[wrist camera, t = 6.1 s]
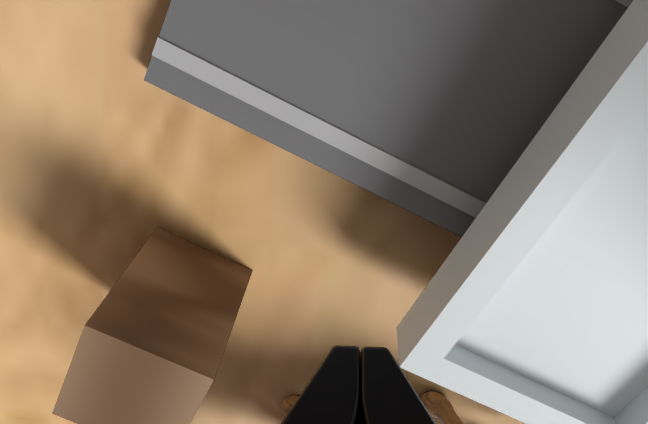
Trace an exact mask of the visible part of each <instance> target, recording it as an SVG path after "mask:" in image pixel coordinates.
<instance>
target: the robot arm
mask: <svg viewBox="0 0 648 424" xmlns="http://www.w3.org/2000/svg"><path fill="white" fill-rule="evenodd" d="M281 424H436V423H435V421H434V420H433V418H432V417H431V415H430V414H429V412H428V411H427V409H426V407H425V406H424V404H423V403H422V401H421V400H420V398H419V396H418V395H417V393H416V392H415V390H414V389H413V387H412V386H411V384H410V382H409V381H408V379H407V378H406V376H405V375H404V373H403V372H402V370H401V368H400V367H399V365H398V364H397V362H396V361H395V359H394V357H393V356H392V354H391V353H390V351H389V350H388V349H387V348H384V347H363V348H362V349H361V352H360V350H359V348H358V347H356V346H340V345H337V346H334V347H332V349H331V350H330V351H329V353H328V354H327V356H326V357H325V359H324V360H323V362H322V363H321V365H320V366H319V368H318V369H317V371H316V372H315V374H314V375H313V377H312V378H311V380H310V381H309V383H308V384H307V385H306V387H305V388H304V390H303V391H302V393H301V394H300V396H299V397H298V399H297V400H296V402H295V403H294V405H293V406H292V408H291V409H290V411H289V412H288V414H287V415H286V417H285V418H284V420H283V421H282V423H281Z"/></svg>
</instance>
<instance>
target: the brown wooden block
mask: <svg viewBox="0 0 648 424" xmlns="http://www.w3.org/2000/svg"><path fill="white" fill-rule="evenodd" d="M252 271H253V270H251V269H249V268H246V267H244V266H242V265H240V264H238V263H235V262H233V261H231V260H229V259H227V258H224V257H222V256H220V255H218V254H216V253H214V252H211V251H209V250H207V249H205V248H203V247H200V246H198V245H196V244H194V243H192V242H189V241H187V240H185V239H183V238H181V237H178V236H176V235H174V234H172V233H170V232H167V231H165V230H163V229H161V228H159V227H157V228H156V230H155V231H154V232H153V234H152V235H151V236H150V238H149V239H148V240H147V242H146V243H145V244H144V246H143V247H142V249H141V250H140V251H139V253H138V254H137V255H136V257H135V258H134V259H133V261H132V262H131V263H130V265H129V266H128V268H127V269H126V270H125V272H124V273H123V274H122V276H121V277H120V278H119V280H118V281H117V282H116V284H115V285H114V287H113V288H112V289H111V291H110V292H109V293H108V295H107V296H106V297H105V299H104V300H103V301H102V303H101V304H100V306H99V307H98V308H97V310H96V311H95V312H94V314H93V315H92V316H91V318H90V319H89V320H88V322H87V323H86V325H85V326H84V329H83V332H82V334H81V337H80V340H79V343H78V345H77V348H76V351H75V353H74V356H73V359H72V361H71V364H70V367H69V370H68V372H67V375H66V378H65V380H64V383H63V386H62V388H61V391H60V394H59V396H58V399H57V402H56V405H55V407H54V410H53V413H52V414H55V415H57V416H60V417H62V418H65V419H67V420H70V421H72V422H75V423H77V424H190V423H191V421H192V419H193V417H194V415H195V413H196V412H197V410H198V408H199V406H200V404H201V403H202V401H203V399H204V397H205V395H206V393H207V392H208V390H209V388H210V386H211V384H212V383H213V381H214V378H215V376H216V373H217V370H218V367H219V364H220V361H221V359H222V356H223V353H224V350H225V347H226V344H227V342H228V339H229V336H230V333H231V330H232V327H233V325H234V322H235V319H236V316H237V313H238V310H239V308H240V305H241V302H242V299H243V296H244V293H245V291H246V288H247V285H248V282H249V279H250V276H251V274H252Z"/></svg>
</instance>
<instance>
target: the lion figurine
mask: <svg viewBox="0 0 648 424" xmlns="http://www.w3.org/2000/svg"><path fill="white" fill-rule="evenodd" d="M298 397H299V396H296V395H290V396H289V397H287V398H286V399H284V401H283V403H282V407H281V410H282V412H283V415H284V417H286V415H287V414H288V412H289V411H290V409H291V408H292V406H293V405H294V403H295V402H296V400H297V399H298ZM420 400H421V401H422V403H423V404H424V406H425V407H426V409H427V411H428V412H429V414H430V415H431V417H432V418H437V419H439V420H440V421H441V422H442V424H463V423H462V421H461V420H460V419H459V417H458V416H457V414H456V413H455V411H454V409H453V407H452V405H451V404H450V402H449V401H448V400H447V399H446V398H445V397H444V396H443V395H442V394H439V393H437V392H432V391H430V392H426V393H424V394H423V395H422V396H421V397H420Z"/></svg>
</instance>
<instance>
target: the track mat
mask: <svg viewBox="0 0 648 424" xmlns="http://www.w3.org/2000/svg"><path fill="white" fill-rule="evenodd" d="M632 2H633V0H171V2H170V5H169V8H168V11H167V14H166V17H165V20H164V23H163V26H162V29H161V32H160V35H159V37H158V38H157V41H156V44H155V46H154V49H153V52H152V58H151V61H150V64H149V67H148V70H147V73H146V75H145V78H144V80H145V81H147V82H149V83H151V84H153V85H155V86H157V87H159V88H161V89H163V90H165V91H167V92H169V93H171V94H173V95H175V96H177V97H179V98H181V99H183V100H185V101H187V102H189V103H191V104H193V105H195V106H197V107H199V108H202V109H204V110H206V111H208V112H210V113H212V114H214V115H216V116H218V117H220V118H222V119H224V120H226V121H228V122H230V123H232V124H234V125H236V126H238V127H240V128H242V129H244V130H246V131H248V132H250V133H252V134H254V135H256V136H258V137H260V138H262V139H264V140H266V141H268V142H270V143H272V144H274V145H276V146H279V147H281V148H283V149H285V150H287V151H289V152H291V153H293V154H295V155H297V156H299V157H301V158H303V159H305V160H307V161H309V162H311V163H313V164H315V165H317V166H319V167H321V168H323V169H325V170H327V171H329V172H331V173H333V174H335V175H337V176H339V177H341V178H343V179H345V180H347V181H349V182H351V183H353V184H356V185H358V186H360V187H362V188H364V189H366V190H368V191H370V192H372V193H374V194H376V195H378V196H380V197H382V198H384V199H386V200H388V201H390V202H392V203H394V204H396V205H398V206H400V207H402V208H404V209H406V210H408V211H410V212H412V213H414V214H416V215H418V216H420V217H422V218H424V219H426V220H428V221H430V222H433V223H435V224H437V225H439V226H441V227H443V228H445V229H447V230H449V231H451V232H453V233H455V234H457V235H459V236H461V237H462V236H463V235H464V234H465V232H466V231H467V229H468V228H469V227H470V225H471V224H472V223H473V221H474V220H475V218H476V217H477V216H478V214H479V213H480V212H481V210H482V209H483V207H484V206H485V205H486V203H487V202H488V200H489V199H490V198H491V196H492V195H493V194H494V192H495V191H496V189H497V188H498V187H499V185H500V184H501V183H502V181H503V180H504V178H505V177H506V176H507V174H508V173H509V171H510V170H511V169H512V167H513V166H514V165H515V163H516V162H517V160H518V159H519V158H520V156H521V155H522V154H523V152H524V151H525V149H526V148H527V147H528V145H529V144H530V142H531V141H532V140H533V138H534V137H535V136H536V134H537V133H538V131H539V130H540V129H541V127H542V126H543V125H544V123H545V122H546V120H547V119H548V118H549V116H550V115H551V113H552V112H553V111H554V109H555V108H556V107H557V105H558V104H559V102H560V101H561V100H562V98H563V97H564V96H565V94H566V93H567V91H568V90H569V89H570V87H571V86H572V84H573V83H574V82H575V80H576V79H577V78H578V76H579V75H580V73H581V72H582V71H583V69H584V68H585V67H586V65H587V64H588V62H589V61H590V60H591V58H592V57H593V55H594V54H595V53H596V51H597V50H598V49H599V47H600V46H601V44H602V43H603V42H604V40H605V39H606V38H607V36H608V35H609V33H610V32H611V31H612V29H613V28H614V26H615V25H616V24H617V22H618V21H619V20H620V18H621V17H622V15H623V14H624V13H625V11H626V10H627V9H628V7H629V6H630V4H631V3H632Z"/></svg>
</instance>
